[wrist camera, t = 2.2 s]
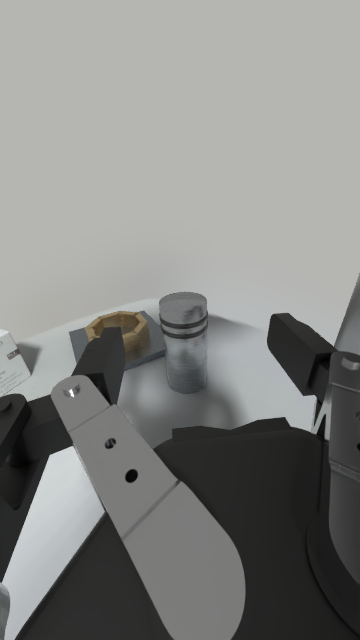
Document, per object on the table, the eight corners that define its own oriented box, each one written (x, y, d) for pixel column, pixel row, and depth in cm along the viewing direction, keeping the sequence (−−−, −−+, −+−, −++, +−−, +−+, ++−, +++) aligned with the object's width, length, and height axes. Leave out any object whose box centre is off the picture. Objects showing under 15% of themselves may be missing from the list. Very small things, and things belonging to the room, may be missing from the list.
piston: (193, 360, 32) (190, 288, 26) (215, 382, 28) (217, 303, 22) (160, 374, 30) (150, 299, 24) (179, 400, 26) (172, 317, 20)
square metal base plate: (144, 314, 45) (141, 299, 43) (178, 349, 34) (176, 330, 32) (70, 336, 39) (64, 319, 37) (83, 386, 28) (75, 366, 27)
